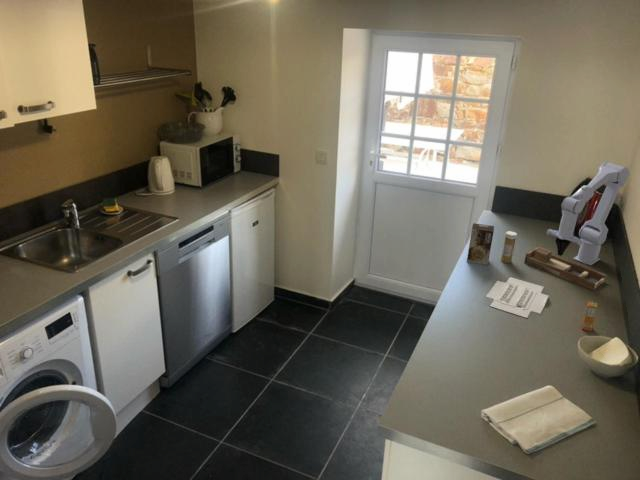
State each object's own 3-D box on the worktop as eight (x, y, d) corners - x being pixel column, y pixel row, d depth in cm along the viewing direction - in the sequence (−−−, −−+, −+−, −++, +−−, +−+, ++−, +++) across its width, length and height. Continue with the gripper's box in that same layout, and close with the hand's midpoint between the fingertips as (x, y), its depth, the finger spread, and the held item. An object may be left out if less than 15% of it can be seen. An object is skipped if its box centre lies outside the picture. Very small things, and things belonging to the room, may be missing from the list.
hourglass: (581, 324, 190) (588, 300, 186) (591, 327, 189) (598, 303, 185) (580, 329, 188) (587, 305, 183) (591, 332, 186) (598, 307, 182)
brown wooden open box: (536, 255, 241) (538, 246, 239) (604, 281, 220) (607, 272, 219) (524, 262, 234) (526, 253, 232) (592, 290, 214) (595, 280, 212)
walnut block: (539, 255, 236) (541, 247, 234) (550, 259, 233) (552, 251, 231) (533, 258, 233) (535, 250, 231) (544, 263, 230) (546, 254, 228)
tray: (480, 305, 201) (482, 296, 200) (500, 278, 223) (502, 270, 222) (536, 323, 191) (538, 314, 190) (551, 293, 213) (553, 285, 212)
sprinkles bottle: (513, 261, 234) (519, 233, 229) (506, 264, 232) (512, 236, 226) (505, 257, 238) (510, 230, 232) (498, 259, 235) (503, 232, 230)
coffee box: (488, 259, 235) (495, 225, 229) (487, 265, 230) (494, 231, 223) (467, 255, 238) (473, 222, 231) (466, 261, 232) (471, 227, 226)
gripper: (546, 222, 223) (539, 251, 229) (580, 233, 213) (572, 263, 219) (554, 218, 227) (547, 246, 233) (588, 229, 217) (580, 258, 223)
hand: (560, 254), depth 226 cm, fingers closed
